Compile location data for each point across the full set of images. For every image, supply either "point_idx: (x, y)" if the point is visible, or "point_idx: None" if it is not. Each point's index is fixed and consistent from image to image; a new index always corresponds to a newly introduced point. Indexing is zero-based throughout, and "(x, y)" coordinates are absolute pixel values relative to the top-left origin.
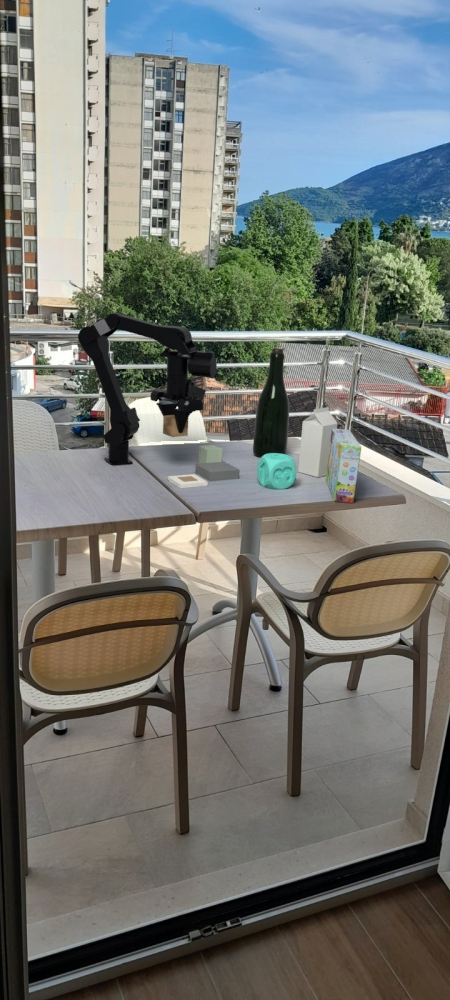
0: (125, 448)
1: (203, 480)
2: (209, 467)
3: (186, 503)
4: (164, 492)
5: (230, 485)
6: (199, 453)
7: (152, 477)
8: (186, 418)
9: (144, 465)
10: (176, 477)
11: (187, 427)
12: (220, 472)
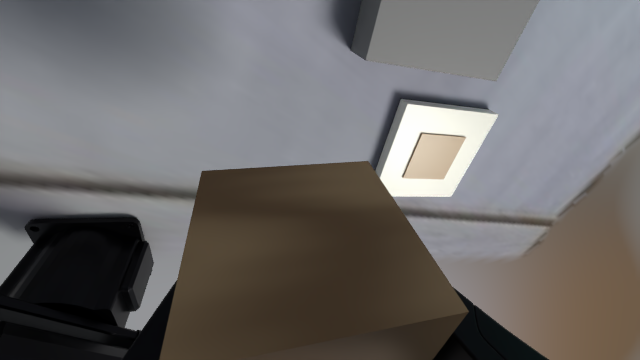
0: (128, 295)
1: (478, 118)
2: (452, 34)
3: (514, 217)
4: (438, 229)
5: (553, 26)
6: None
7: None
8: (510, 349)
9: (167, 187)
10: (397, 178)
11: (397, 213)
12: (521, 26)
